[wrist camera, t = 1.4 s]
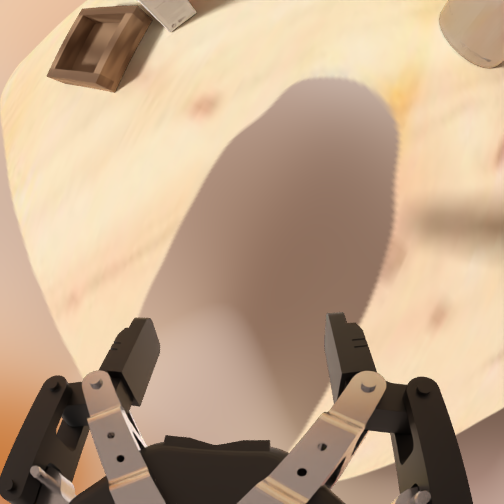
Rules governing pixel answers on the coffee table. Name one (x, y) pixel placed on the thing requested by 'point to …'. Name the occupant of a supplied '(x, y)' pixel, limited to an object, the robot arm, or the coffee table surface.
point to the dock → (100, 47)
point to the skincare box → (169, 11)
